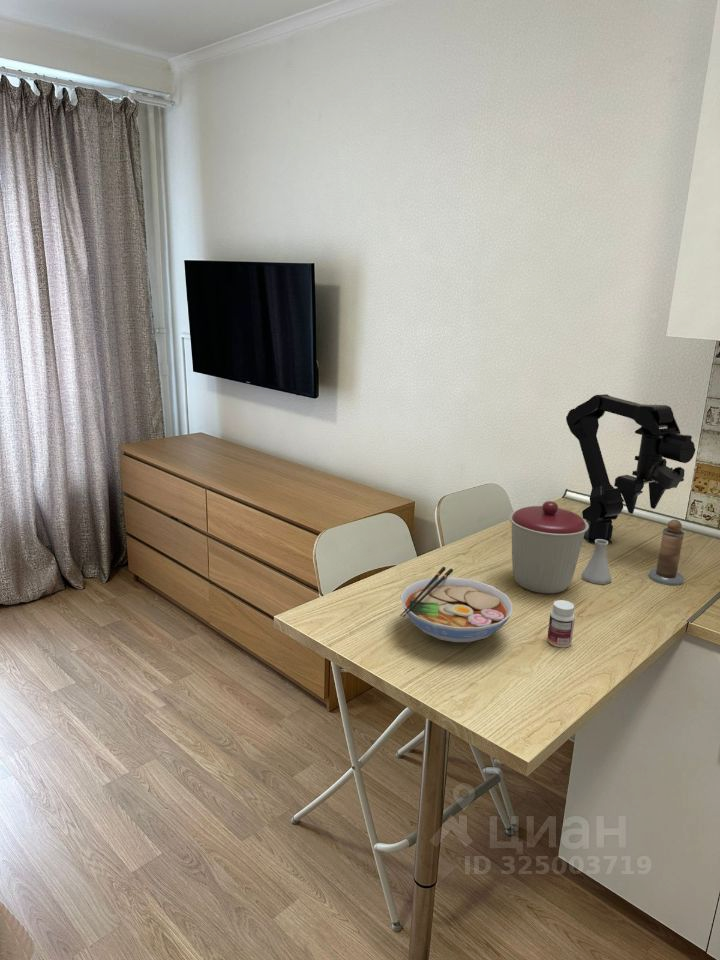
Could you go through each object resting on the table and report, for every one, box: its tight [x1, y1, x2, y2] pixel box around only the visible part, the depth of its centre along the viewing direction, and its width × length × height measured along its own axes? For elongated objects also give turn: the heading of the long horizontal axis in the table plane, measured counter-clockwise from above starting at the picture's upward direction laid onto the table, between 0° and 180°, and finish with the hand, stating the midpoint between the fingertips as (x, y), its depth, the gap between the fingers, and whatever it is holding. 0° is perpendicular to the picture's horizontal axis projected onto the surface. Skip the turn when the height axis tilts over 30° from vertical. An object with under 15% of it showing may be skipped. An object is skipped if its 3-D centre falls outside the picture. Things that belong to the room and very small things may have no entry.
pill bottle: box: [546, 599, 576, 648], centre depth 134 cm, size 5×5×8 cm
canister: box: [508, 500, 589, 594], centre depth 158 cm, size 18×18×21 cm
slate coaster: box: [648, 567, 685, 586], centre depth 166 cm, size 8×8×1 cm
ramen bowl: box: [400, 566, 514, 643], centre depth 136 cm, size 25×23×8 cm
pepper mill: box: [656, 519, 685, 578], centre depth 164 cm, size 5×5×14 cm
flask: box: [581, 539, 612, 585], centre depth 164 cm, size 7×7×10 cm
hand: (641, 510), depth 176 cm, fingers open, 9 cm apart
